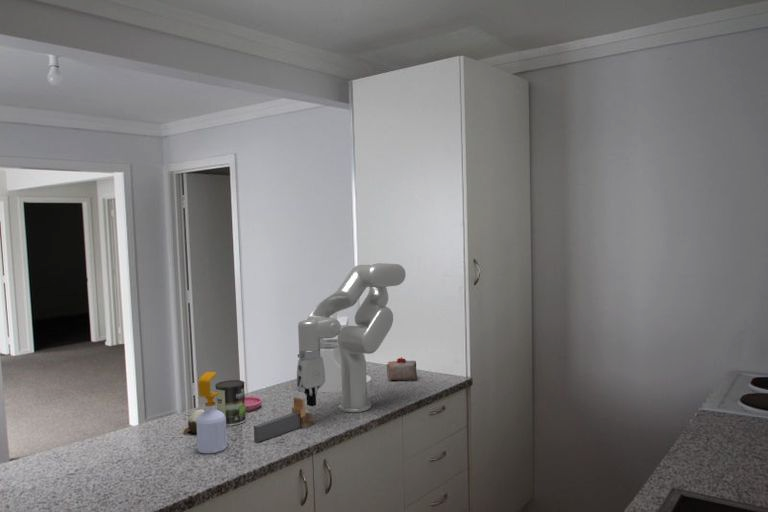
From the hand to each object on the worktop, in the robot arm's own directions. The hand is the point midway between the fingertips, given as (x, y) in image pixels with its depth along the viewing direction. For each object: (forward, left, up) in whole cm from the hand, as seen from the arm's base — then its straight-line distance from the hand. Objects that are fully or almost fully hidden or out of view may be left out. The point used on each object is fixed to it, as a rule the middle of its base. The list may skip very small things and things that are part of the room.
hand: (311, 405), depth 216 cm
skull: (+29, -26, -7) cm, 39 cm away
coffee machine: (-41, -29, -6) cm, 51 cm away
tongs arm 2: (+16, +1, -6) cm, 17 cm away
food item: (-64, -10, -7) cm, 65 cm away
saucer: (+4, -34, -7) cm, 35 cm away
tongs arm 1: (+16, -1, -6) cm, 17 cm away
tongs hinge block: (+4, 0, -6) cm, 7 cm away
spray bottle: (+37, -7, -6) cm, 38 cm away
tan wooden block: (+6, 0, -2) cm, 7 cm away
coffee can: (+17, -25, -6) cm, 31 cm away
